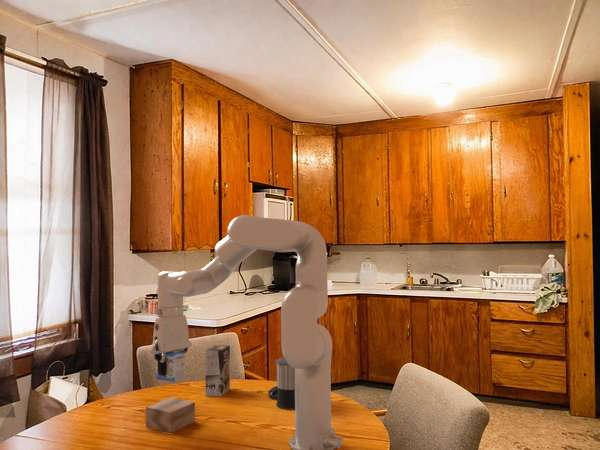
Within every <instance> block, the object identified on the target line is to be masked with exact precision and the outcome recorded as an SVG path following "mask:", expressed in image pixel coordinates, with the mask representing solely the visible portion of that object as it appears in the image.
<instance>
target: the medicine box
mask: <svg viewBox="0 0 600 450" xmlns="http://www.w3.org/2000/svg"><path fill="white" fill-rule="evenodd" d="M155 352H156V353H157V352H158V351H155ZM161 355H162V354H161ZM164 362H166V376H162V375H159V374H158V361H156V360H155V379H156V380H160V381H167V382H172V383H176V382H180V381H183V380H184V379H185V378H186V353H185V350H176V351H171V352H167V353H166V357H165V361H164Z"/></svg>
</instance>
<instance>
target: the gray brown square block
mask: <svg viewBox="0 0 600 450" xmlns="http://www.w3.org/2000/svg"><path fill="white" fill-rule="evenodd" d="M195 421H196V402H195V401H191V400H185V399H180V398H176V397H168V398H165V399H163V400H160V401H157V402H156V403H152V404H149V405H148V406H145V428H147V429H148V428H149V429H152V430H156V431H160V432H165V433H169V434H173V433H175V432H176V431H178V430H180V429H182V428H184V427H186V426H189V425H191V424H194V423H195Z"/></svg>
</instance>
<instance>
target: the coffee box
mask: <svg viewBox="0 0 600 450" xmlns="http://www.w3.org/2000/svg"><path fill="white" fill-rule="evenodd" d="M230 348H231V347H230V345H227V344H226V345H223V344H222V345H213V346H211V347H209V348H207V349H205V351H204V353H205V357H204V358H205V366H204V369H205V370H204V371H205V373H204V374H205V377H204V379H205V380H204V383H205V384H204V386H205V387H204V388H205V389H204V391H205V392H204V393H205V394H204V395H205V396H209V397H210V396H211V397H222V396H224V395H225V394H226V393H227V392H228V391H229V390H230V389H231V349H230Z"/></svg>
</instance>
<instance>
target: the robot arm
mask: <svg viewBox="0 0 600 450" xmlns="http://www.w3.org/2000/svg"><path fill="white" fill-rule="evenodd" d="M257 250H262V251H269V252H274V253H275V252H277V253H291V252H295V253H296V254H297V255H296V256H297V259H296V262H295V287H293V288H291V289H289V290H288V292H287V291H286V293H285V295H284V297H283V299H282V303H281V306H280V307H281V309H280V335H281V337H280V343H281V345H280V346H281V353H282V356H283V358H284V359H285V360H286V362H287V363H288V364H289V365H290V366H292V367H293V368H295V409H294V417H295V418H294V420H295V423H294V428H295V433H294V435H292V436H291V437H290V439H289V446H290V448H291V450H335V449H336V448H337V449H341V447H342V445H343V440H344V439H343V438H344V437H342V436H339V435H336V433H335V432H336V431H335V430H336V428H334V427H332V402H331V401H332V399H331V398H332V397H331V395H332V393H331V391H332V390H331V389H332V388H331V387H332V386H331V385H332V383H331V381H332V379H331V378H332V377H331V373H332V371H331V369H332V368H331V367H332V366H331V364H332V357H333V356H332V354H333V339H332V336H331V334H330V332H329V330H328V329H327V328H326V327H325V326H324V325H322V324H319V323H318V319H319V318H321V317H322V316H323V315H325V313H326V312H327V309H328V306H329V298H328V297H329V296H328V295H329V293H328V291H329V289H328V263H327V262H328V261H327V260H328V257H327V256H328V255H327V254H328V253H327V245H326V242H325V239H324V236H322V234H321V233H320V232H319V231H318V229H317V228H315V227H314V226H312V225H310V224H308V223H307V222H302V221H299V220H290V219H284V218H283V219H282V218H281V219H280V218H269V217H263V216H262V217H260V216H258V215H257V216H256V215H249V214H242V215H238V216H236V217H234V218H233V219H232V220H231V221H230V223H229V225H228V227H227V235H226V236H225V237H224V238H223V239H221V240H219V241H218V242H217V243H216V245H215V247H214V251H215V255H216V256H215V257H214V259H213V260H212V261H210V262H209V263H208V264H207V265H205V267H203V268H201V269H194V270H193V269H192V270H185V271H180V270H164V271H160V272H159V273H158V275H157V308H156V309H155V310H154V315H157V317H156V318H155V322H154V325H153V336H152V344H151V346H150V347H149V349H148V351H147V353H148V354H149V356H151V357H152V358H154V360H155V362H156V361H158V374H159V375H162V376H166V362H164V361H165V357H166V353H167V352H171V351H176V350H185V354H186V353H187V352H188V350H189V349H190V348H191V346H192V341H190V340H189V339H190V338H189V325H188V319H187V315H186V314H184V298H185V297H186V298H189V297H193V296H194V297H195V296H200V295H206V294H208V293H210V292H212V291H214V290H215V289H216V288H217V287H219V286H220V285H221V284H223V283H224V282H225V281H226V280H228V278H230V276H231V275H232V274H233V272H234V271H235V269H236V267H237V266H238V265H239V264H241V263H242V262H244V261H245V259H247V258H249V256H251V255H252V254H253V253H255V252H256V251H257ZM156 351H158V352H157V353H156ZM161 354H162V355H161Z"/></svg>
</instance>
